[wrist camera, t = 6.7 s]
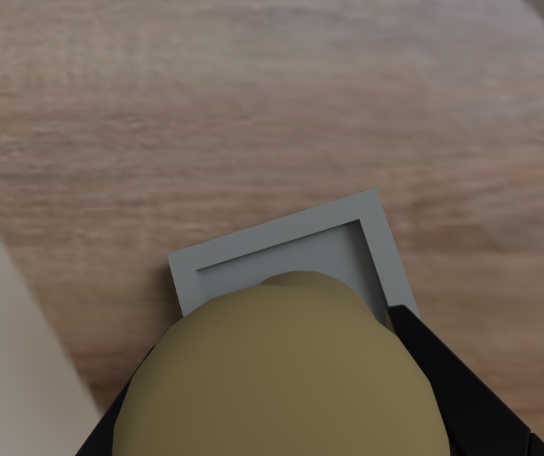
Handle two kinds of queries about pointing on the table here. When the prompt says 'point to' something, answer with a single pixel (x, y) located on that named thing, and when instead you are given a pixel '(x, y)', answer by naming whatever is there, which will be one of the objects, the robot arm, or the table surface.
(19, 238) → the table surface
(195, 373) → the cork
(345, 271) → the gray tray
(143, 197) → the table surface
